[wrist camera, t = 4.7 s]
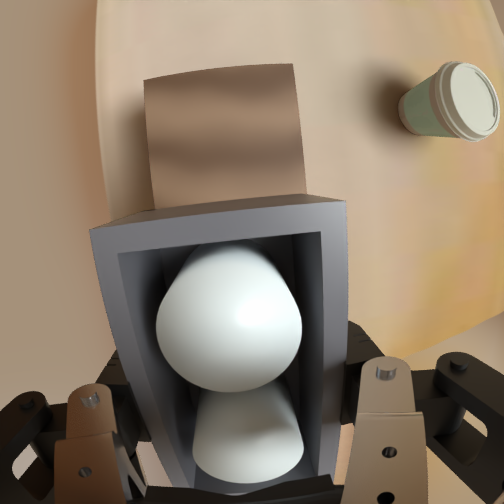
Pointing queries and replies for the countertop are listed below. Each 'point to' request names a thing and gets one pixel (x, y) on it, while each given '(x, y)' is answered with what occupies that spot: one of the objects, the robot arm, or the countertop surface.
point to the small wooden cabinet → (224, 135)
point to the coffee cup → (452, 104)
